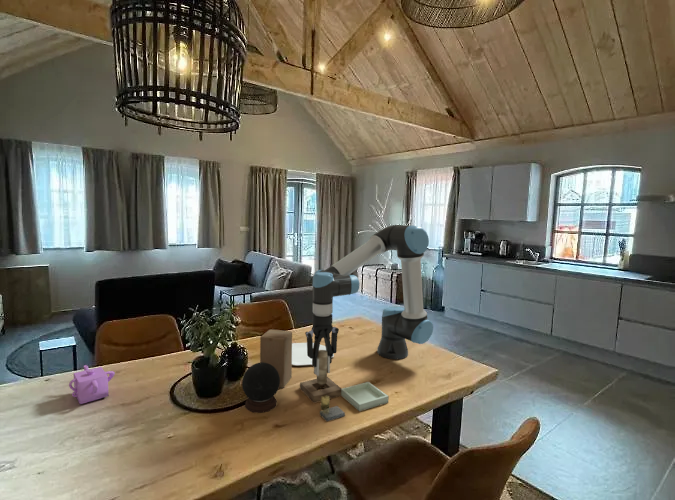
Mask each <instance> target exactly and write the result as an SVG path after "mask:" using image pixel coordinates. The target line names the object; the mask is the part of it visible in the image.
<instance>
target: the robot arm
mask: <svg viewBox="0 0 675 500" xmlns="http://www.w3.org/2000/svg"><path fill="white" fill-rule="evenodd" d="M429 244H430V239H429V235H428V232H427V231H426V230H425V229H424V228H423V227H421V226H417V225H407V224H405V225H404V224H403V225H402V224H391V225H388V226H386V227H384V228H382V229H380V230H378V231H377V232H375V233H374V234H372V235H371V236H370V238H369V239H368V241H366V242H365V243H363V244H362V245H360V246H359V247H357V248H356V249H354V250H353V251H351V252H350V253H348V254H347V255H345V256H344V257H342V258H341V259H340V260H337V261H336V262H335V263H334V264H332V265H331V266H329V267H328V268H327V267H326V268H325V269H318V270H316V271H315V272H314V273H313V275H312V285H311V286H312V313H313V314H312V327H311V330H309V331H305V333H304V334H305V337H306V343H307V356H308V357H310V358H311V359H312V365H311V366H312V367H313V374H314V375H316V377H317V376H319V358H317V357H318V352H319V346H320V345H321V342H322V340H323V339H324V340H323V341H324V346H326V351H327V374H330V373H331V369H330V368H331V364H332V361H333V360H332V359H333V358H332V356H333V354H337V351H338V350H337V347H338V334H339V330H340V329H339V328H338V327H336V326H333V309H334V308H333V307H334V306H333V305H334V304H333V302H334V298H335V297H342V296H348V295H349V296H350V295H354V294H356V293H358V292H359V290H360V280H359V278H358V276H357V275H355V274H352V273H354V272H355V271H357V270H358V269H359V268H360V267H362V266H363V265H365V264H366V263H368V262H370V261H371V260H372V259H374V258H375V257H376V256H378V255H379V254H380V255H383V254H384V253H385V252H387V251H396V255H397V258H398V259H399V260H400V263H401V267H400V268H401V277H402V278H401V279H402V280H401V281H402V293H403V294H402V295H403V296H402V297H403V307H398V306H394V307H393V306H392V307H390V306H389V307H386V308H384V309H382V314H381V315H382V316H381V338H380V339H379V344H378V345H377V348H376V349H377V351H376V353H377V355H379V356H380V357H382V358H385V359H390V360H401V359H405V358H407V357H408V356H409V349H408V346H407V342H406V340H408V341H410V342H412V343H414V344H418V345H423V344H425V343H427V342H428V341H429V340H430V338H431V337H432V335H433V332H434V324H433V322H432V321H431V320H429V319H428V312H427V311H426V310H425V308H424V298H423V295H424V294H423V282H422V281H423V280H422V263H421V262H422V261H421V259H422V258H423V257H424V256H425V252H426V251H427V250H428V247H429ZM330 334H331V335H330ZM313 338H314V340H313ZM313 343H314V346H313Z"/></svg>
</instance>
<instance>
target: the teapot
mask: <svg viewBox="0 0 675 500" xmlns="http://www.w3.org/2000/svg"><path fill="white" fill-rule="evenodd" d="M108 375H109V376H108ZM114 377H115V371H112V370H109V371H105V370H104V369H103V367H102V366H99V367H94V368H91V369H90V368H89V366H88V365H87V364H85V365H83V370H82V371H78V372H77V371H76V372H74V373H73V379H71V380H70V381H69V384H68V386H69V388H70V389H71V391H72V393H71V396H72V397H73V398H76V400H77V402H78V403H79V405H82V404H83V405H84V404H86V403H89V402H93V401H96V400H100V399H103V398H107V397H109V382H110V381H111V380H112V379H113V378H114ZM72 384H73V385H72Z"/></svg>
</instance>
